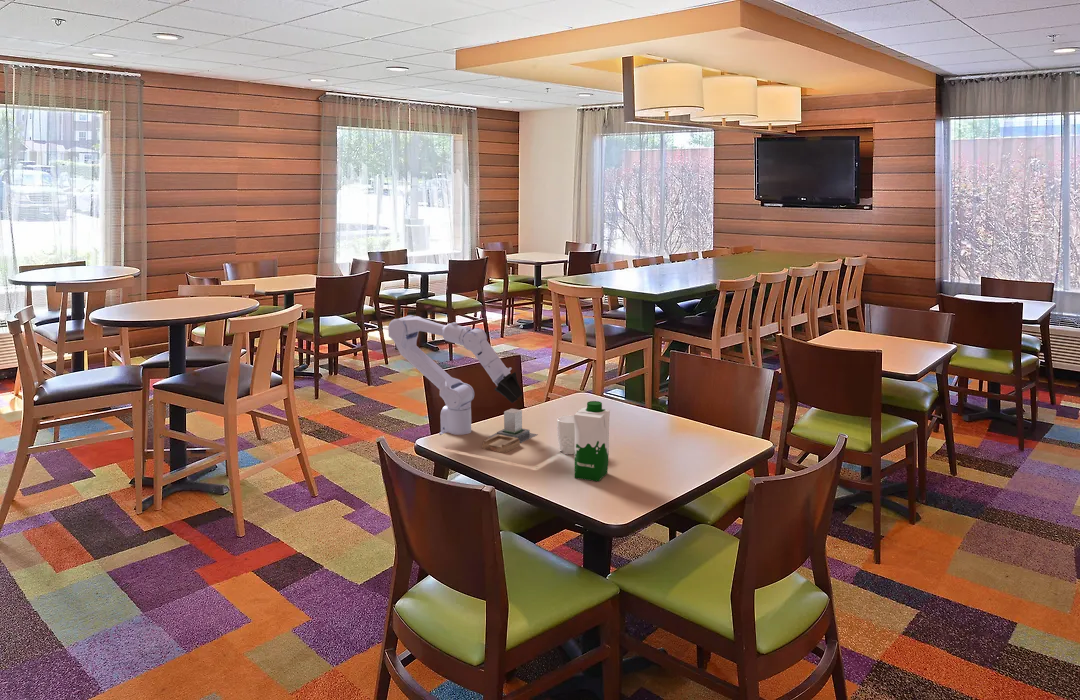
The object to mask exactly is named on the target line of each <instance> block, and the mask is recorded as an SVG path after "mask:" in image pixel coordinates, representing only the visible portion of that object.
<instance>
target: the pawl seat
mask: <svg viewBox="0 0 1080 700" xmlns="http://www.w3.org/2000/svg"><path fill="white" fill-rule="evenodd" d="M520 444H521V443H520V441H519V438H515V437H510V436H505V435H500V434H497V435H495V436H493V437H488V438H486V439H484V440H483V442H482V449H484V450H488V451H494V452H496V453H497V452H498V453H503V454H506V453H508V452H510V451H512V450H514V449H516V448H518V447H520V446H521V445H520Z"/></svg>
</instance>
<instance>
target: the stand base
mask: <svg viewBox="0 0 1080 700" xmlns="http://www.w3.org/2000/svg"><path fill="white" fill-rule="evenodd" d="M522 429H523V431H522V432H520V433H518V434H516V435H515V434H510V433H504V428H502V429H501V430H498V431H496V433H493V434H491V435H489V436H488V438H491V437H493V436H495V435H497V434H500V435H505V436H510V437H515V438H519V441H520V444H521V443H524V442H526V441H529V440H530V439H532V438H534V437H536V436H538V433H537V434H536V433H532V432H531V431H530V429H526V428H522Z"/></svg>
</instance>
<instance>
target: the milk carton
mask: <svg viewBox="0 0 1080 700" xmlns="http://www.w3.org/2000/svg"><path fill="white" fill-rule="evenodd" d="M610 413H611V410H609V409H608V410H607V409H605V408H603V403H602V402H601V401H598V400H597V401H596V400H591V401H590V400H589V401H587V403H586V406H585V407H582V408H580V409H578V410H577V411H576V412H575V413H574V414H573V415H574V423H575V454H574V479H578V478H579V479H580V480H585V479H586V481H591V480H593V481H592V482H597V481H599V482H600V481H601V480H602V479H604V477H605V476H607V474H608V470H609V468H608V467H609V455H610V454H609V452H610V451H609V449H610V448H609V447H610Z"/></svg>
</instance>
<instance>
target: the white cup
mask: <svg viewBox="0 0 1080 700" xmlns="http://www.w3.org/2000/svg"><path fill="white" fill-rule="evenodd" d="M556 427H557V429H556V430H557V443H558V449H559V450H560V451H559V453H560V454H563V455H568V454H573V455H575V423H574V414H573V415H572V414H568V415H560V416H559V417H557V418H556Z"/></svg>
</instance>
